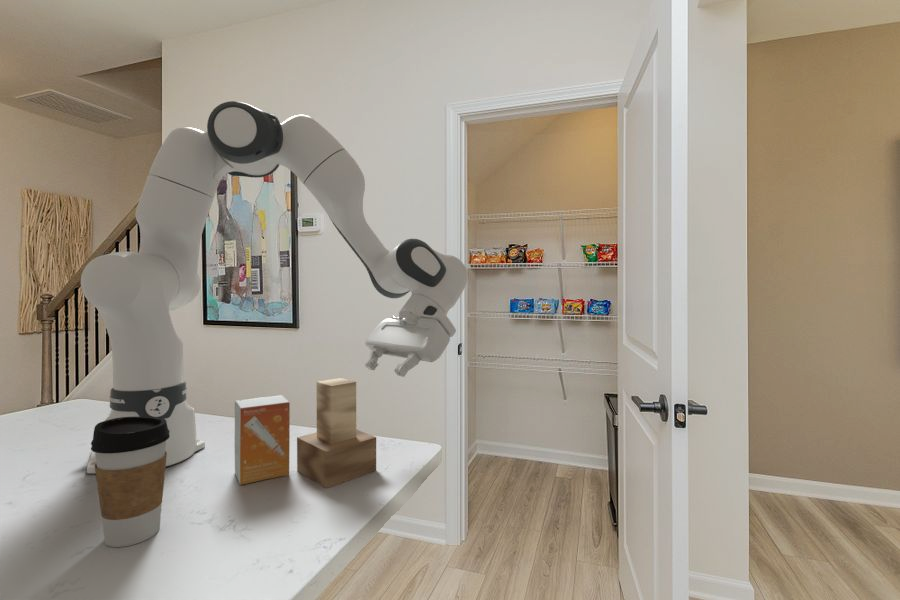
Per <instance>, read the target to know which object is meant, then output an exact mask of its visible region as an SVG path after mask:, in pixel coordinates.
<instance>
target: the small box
mask: <svg viewBox="0 0 900 600" xmlns="http://www.w3.org/2000/svg"><path fill="white" fill-rule="evenodd" d="M290 405H291V404H290V401H289V400H288V399H287V398H286V397H284V395H283V394H279V395H273V396H272V395H271V396H260V397H253V398H248V399H237V400H234V474H235V475H236V478H237V481H238V483H239V485H240V486H242V485H246V484H250V483H254V482H255V483H256V482H259V481H265V480H269V479H275V478H280V477H286V476H287V477H288V476H289V475H290V443H291V442H290V439H291V438H290V436H291V435H290V426H291V425H290V424H291V423H290V419H291V417H290V415H291V414H290V411H291V410H290V409H291V408H290Z"/></svg>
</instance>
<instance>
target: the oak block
mask: <svg viewBox="0 0 900 600" xmlns="http://www.w3.org/2000/svg"><path fill="white" fill-rule="evenodd" d="M356 430H357V381H354V380H351V379H346V378H343V377H337V378H332V379H325V380H319V381H316V432H317V438H319V439H322V440H324V441H326V442H328V443H330V444H334V443H337V442H341V441H344V440H348V439H352V438H355V437H356Z"/></svg>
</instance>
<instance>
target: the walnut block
mask: <svg viewBox="0 0 900 600" xmlns="http://www.w3.org/2000/svg"><path fill="white" fill-rule="evenodd" d="M296 465H297V466H296V469H297V470H296V471H297V472H299V473H301V474H302V475H303V476H305V477H307V478H308V479H310V480H312V481H313V482H316V483H317V484H319V485H320V486H322V487H323V488H325V489H328V488H330V487H334V486H336V485H339V484H342V483H345V482H347V481H350V480H353V479H356V478H359V477H361V476H364V475H367V474H370V473H373V472H375V471H377V436H374V435H373V434H369V433H367V432H364V431H361V430H359V429H356V437H355V438H352V439H348V440H344V441H341V442H337V443H334V444H330V443H328V442H326V441H324V440H322V439H319V438H317V431H316V432H313V433H310V434H305V435H300V436H298V437H296Z"/></svg>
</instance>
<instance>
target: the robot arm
mask: <svg viewBox="0 0 900 600" xmlns="http://www.w3.org/2000/svg"><path fill="white" fill-rule="evenodd" d="M207 119H208V120H207V124H206V130H207V131H202V130H200V129H197V128H193V127H185V126H184V127H177V128H174V129H172V130H171V131H170V133H169V134H168V135H167V136H166V138H165V140H164V142H162V145H161V146H160V148H159V150H158V152H157V153H156V156H155V157H154V160H153V162H152V165H151V167H150V169H149V173H148V175H147V177H146V181H145V183H144V186H143V190H142V192H141V194H140V197H139V201H138V204H137V206H136V209H135V216H134V217H135V220H136V222H137V224H138V226H139V233H140V234H139V236H140V238H139V239H140V240H139V241H140V243H139V249H138V252H135V251H127V250H125V251H117V252H111V253H107V254H102V255H99V256H96V257H95V258H93V259H91V261H89V262H88V263H87V264H86V266H85V267H84V269H83V270H82V273H81V276H80V288H81V291H82V293H83V295H84V297H85V299H86V301H88V302H89V303H90V304H91V305H92V306H93V307H95V308H96V309H97V311H98V313H99V314H100V316H101V319H102V321H103V323H104V326H105V328H106V331H107V335H108V337H109V341H110V345H111V352H112V353H111V357H112V385H113V387H112V388H111V389H110V392H109V393H110V394H109V409H110V411H109V413H108V415H107V417H106V418H105V419H104V421H106V420H110V419H114V418H120V417H156V418H162V419H165V420H166V422H167V427H168V430H169V431H170V433H169V435H170V437H169V438H168V439H167V440H166V448H165V451H166V452H167V457H166V467H168V466H172V465H175V464H178V463H180V462H182V461H185V460H187V459H188V458H190V457H192V455H193V454H195V453H196V452H197V451H199V450H202V449H203V448H205V447H206V444H205V441H204V440H201V439H198V438H197V423H196V411H195V408H194V407H192V406H191V405H189V404H188V403H187V401H186V400H187V393H188V390H187V389H188V387H187V382H186V381H185V380H184V343H183V341H182V338H180V337H179V335H178V334H177V333H176V331H175V328H174V325H173V321H172V318H171V313H170V311H175V310H177V309H180V308H182V307H184V306H186V305H187V304H189V303H191V302H192V301H194V300H195V298H196V297H197V296H198V294H199V293H200V290H201V278H200V276H199V272H198V271H199V270H198V269H199V268H198V267H199V256H200V247H201V240H202V234H203V232H204V228H205V225H206V223H207V219H208V217H209V213H210V211H211V207H212V205H213V201H214V199H215V196H216V194H217V193H216V192H217V190H218V187H219V185H220V183H221V180H222V179H223V177H225V175H226V174H228V175H230V176H235V177H246V178H247V177H248V178H264V177H269V176H271V174H274V173H275V172H276V171H277V170H278V168H279V167H280V166H282V167H285V168H287V169H288V170H290V171H291V172H292V173H293V174H294V175H295V177H296V178H298V179H299V181H300V182H301V183H302V184H303V186H305V188H307V191H309V193H311V194H312V195H313V197H314V198H315V200H317V202H318V203H319V204H320V206H321V207H322V209H323V210H324V212H325V213H326V215H327V216H328V217H329V220H330V221H331V223H332V224H333V226H334V227H335V229H336V230H337V232H338V233H339V234H340V236H342V238H343V240H344V241H345V243H347V245H348V246H349V247H350V249H351V251H353V252H354V254H355V255H356V257H357V258H358V259H359V260H360V262H361V263H362V264H363V266H364V267H365V269H366V271H367V273H368V276H369V279H370V281H371V283H372V286H373V287H374V288H375V290H376V291H377V292H378V293H379V294H380V295H382V296H383V297H385V298H388V299H399V298H403V297H404V296H406V295H407V294H409V293H410V292H411V295H410V297H409V298H408V300H407V301H406V302H405V304H404V305H403V306H402V307H401V309H400V310H399V312H398V316H396V315H395V316H394V315H393V316H391V317H390V318H385V319H383V320H381V322H379V324H377V325H376V326H375V327H374V329H373V330H372V331H370V333H369V334H368V336H367V337H366V338H365V342H364V343H365V345H366V348H368V349H369V350H370V351H369V356H368V359H367V360H366V362H365V364H364V367H365V368H367V369H368V370H369V371H375V370H376V368H377V367H378V366H379V364H378V360H379V359H380V358H381V357H382V356H383V355H385V356H390V357H398V358H403V359H405V360H404V361H403V362H402V363H398V364H397V365H396V367H395V368H394V371H393V372H394V373H395V374H396V375H397V376H399V377H403V378H405V377H406V375H407V374H408V372H409V371H411V370H412V369H413V368H415V367H416V366H417V365H418V364H419V363H420V362H426V363H427V362H428V363H434V362H435V361H437V360H439V358H440V357H441V356H442V354H443V353H444V351H445V350H446V348H447V347H448V345H449V343H450V340H451V338H452V337H453V336H454V335H455V334H456V332H457V329H456V327H455V325H454V324H453V323H452V321H451V320H450V318H449V317H448V315H447V314H448V312H449V311H450V310H452V308H453V307H454V306H455V305H456V303H457V301H458V300H459V299H460V297H461V295H462V294H463V292H464V290H465V288H466V286H467V283H468V280H469V279H468V278H469V274H468V269H467V267H466V265H465V264H464V263H463V261H461V259H460V258H458V257H456V256H454V255H451V254H443V253H440V252H438V251H436V250H435V249H433V248H432V247H431V246H430V245H429V244H428V243H426V241H423V240H422V239H418V238H409V239H408V238H407V239H405V240H403V241H402V242H400V243H399V244H398V245H397V246H395V247H394V248H393V249H392V250H391V251H390V250H388V249H387V248H386V247H385V245H384V244H383V243H382V242H381V240H380V239H379V237H378V236H377V234H375V232H374V231H373V229H372V227H370V225H369V224H368V222H367V221H366V218H365V215H364V196H365V192H366V191H365V189H366V188H365V187H366V184H365V183H366V182H365V181H366V180H365V175H364V174H363V171H362V169H361V168H360V166H359V164H358V163H357V161H356V160H355V158H353V156H352V155H351V154H350V153H349V151H348V150H347V149H345V147H344V146H343V145H342V144H341V143H340V142H339V140H337V139H336V137H334V136H333V134H331V133H330V132H329V131H328V130H327V129H326V128H325V127H323V125H321V124H320V123H319V122H317V120H315V119H314V118H313V117H311V116H309V115H305V114H298V115H294V116H291V117H289V118H287V119H286V120H285V121H283V122H282V123H281V122H280V120H279V119H278V117H277V116H276V115H274V114H272V113H269V112H267V111H263V110H261V109H260V108H258V107H256V106H255V107H254V106H253V105H251V104H248V103H245V102H241V101H234V100H233V101H232V100H231V101H226V102H222V103H220V104H218V105H217V106H216V107H214V108H213V110H212V111H211V112H210V113H209V116H208V118H207ZM95 464H96V455H95V452H93V451H92V450H91V455H90V458H89V461H88V464H87V467H86V473H87V474H96V473H95Z"/></svg>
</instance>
